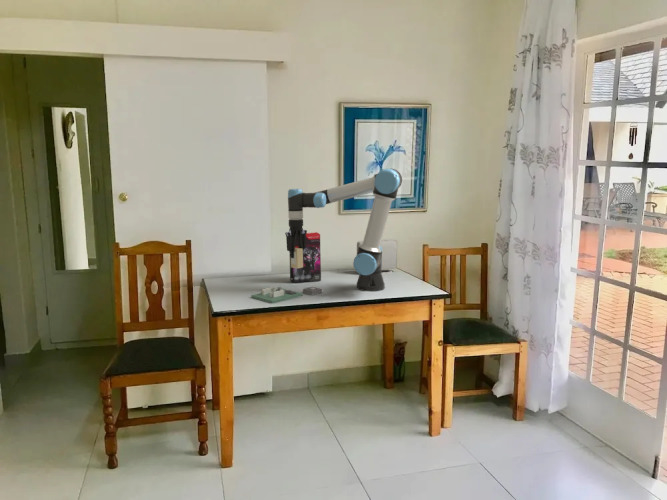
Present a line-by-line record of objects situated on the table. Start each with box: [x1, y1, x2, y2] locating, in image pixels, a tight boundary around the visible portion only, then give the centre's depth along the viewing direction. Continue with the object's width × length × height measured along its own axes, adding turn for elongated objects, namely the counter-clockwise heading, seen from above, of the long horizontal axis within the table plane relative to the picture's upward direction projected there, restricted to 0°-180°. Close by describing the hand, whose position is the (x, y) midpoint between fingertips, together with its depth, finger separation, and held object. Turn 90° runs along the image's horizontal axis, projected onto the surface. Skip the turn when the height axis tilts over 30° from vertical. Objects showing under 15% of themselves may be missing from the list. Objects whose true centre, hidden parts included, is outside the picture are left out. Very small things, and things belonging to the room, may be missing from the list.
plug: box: [291, 248, 303, 269], centre depth 280 cm, size 6×4×10 cm
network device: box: [356, 238, 398, 275], centre depth 323 cm, size 26×9×20 cm, turn 114°
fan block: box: [302, 286, 323, 296], centre depth 275 cm, size 7×7×2 cm
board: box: [250, 286, 303, 304], centre depth 267 cm, size 16×20×4 cm
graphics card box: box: [288, 231, 322, 284], centre depth 300 cm, size 17×7×27 cm, turn 111°
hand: (296, 263), depth 280 cm, fingers closed on plug, 4 cm apart
